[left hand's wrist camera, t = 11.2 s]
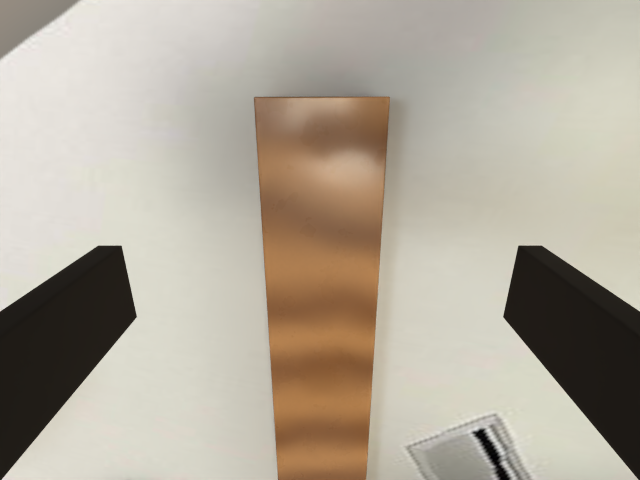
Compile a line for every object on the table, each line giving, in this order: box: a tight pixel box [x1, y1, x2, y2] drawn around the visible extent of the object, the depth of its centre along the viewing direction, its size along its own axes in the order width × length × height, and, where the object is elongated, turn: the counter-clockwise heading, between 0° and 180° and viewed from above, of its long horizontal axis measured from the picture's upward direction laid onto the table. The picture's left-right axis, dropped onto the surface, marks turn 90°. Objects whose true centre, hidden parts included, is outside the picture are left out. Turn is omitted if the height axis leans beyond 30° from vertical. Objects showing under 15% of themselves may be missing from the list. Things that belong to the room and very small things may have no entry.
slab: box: [254, 97, 390, 480], centre depth 38 cm, size 60×9×7 cm, turn 0°
